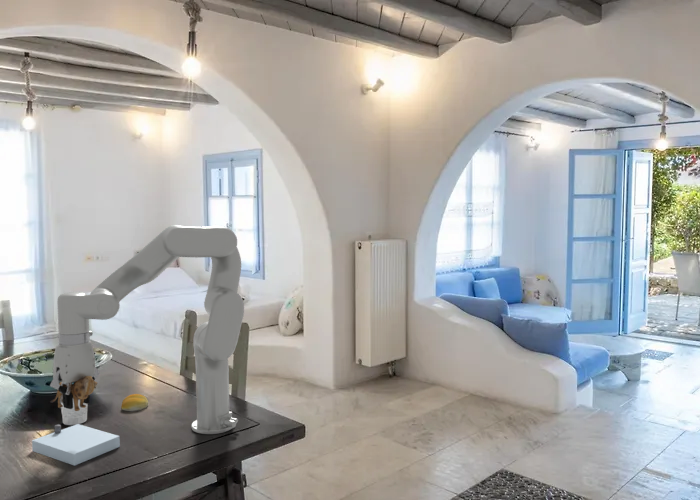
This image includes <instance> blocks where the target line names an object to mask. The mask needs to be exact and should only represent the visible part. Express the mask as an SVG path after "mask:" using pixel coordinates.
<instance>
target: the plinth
mask: <svg viewBox="0 0 700 500" xmlns="http://www.w3.org/2000/svg"><path fill="white" fill-rule="evenodd" d="M120 441H121V440H120V435H118V434H113V433H110V432H108V431H107V432H106V431H103V430H100V429H96V428H94V427H89V426H86V425H83V424H77V425H70V426H68V427H66V428H63V429H62V425H61V424H55V425H54V432H51V433H49V434H48V433H47V434H46V435H43V436H40V437H37V438H34V439H31V444H32V445H31V449H32V452H34V453H37V454H40V455H42V456H45V457H49V458H52V459H53V460H54V459H55V460H57V461H59V462H63V463H66V464H69V465H71V466H77V465H79V464H81V463H84V462H87V461H88V460H91V459H94V458H96V457H99V456H101V455H103V454H105V453H108V452H110V451H113V450H116V449H117V448H120V447H121V444H120V443H121V442H120Z"/></svg>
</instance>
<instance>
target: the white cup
mask: <svg viewBox="0 0 700 500" xmlns="http://www.w3.org/2000/svg"><path fill="white" fill-rule="evenodd" d="M88 404H89V403H88ZM88 404H86V403H83V405H86V407H85V408H81V407H80V399H79V400H78V406H79V409H80V410H79V411H75V409H74V400H73V408H72V409H68V408H64V405H63V403H61V405H63V407H61V408H60V410H61V416H62V424H63V425H65V426H74V425H77V424H80V425H82V424H83V423H86V422H87V420H88V406H89V405H88Z"/></svg>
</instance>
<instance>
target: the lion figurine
mask: <svg viewBox="0 0 700 500" xmlns="http://www.w3.org/2000/svg"><path fill="white" fill-rule="evenodd" d="M61 383H62V381H60V382H59V385H61ZM97 386H98V382H97V381H95V380H93V379H92V376H85V377H83V378H81V379H79V381H76V382H73V383H72V387H71V393H70V394H72V395H73V400H74V409H75V411H79V410H80V409H79V406H78V400H79V399H80V407H81V408H85V407H86V405H83V402H84V399H86V398H87V397H88V395H91V394H93V392H94V391H95V390H96V389H97V388H96V387H97ZM56 400H57V408H59V409H61V407H63V405H61V403H63V394H62V393H60V391H58V390H57V392H56V396H55V397H54V399H51V400H50V401H49V402H50V403H54V402H56Z"/></svg>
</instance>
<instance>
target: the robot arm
mask: <svg viewBox="0 0 700 500" xmlns="http://www.w3.org/2000/svg"><path fill="white" fill-rule="evenodd" d="M180 258H195V259H197V258H210V260H211V272H210V276H209V277H210V278H209V283H208V286H207V291H206V293H205V298H204V301H203V303H204V304H203V305H204V306H203V307H204V309H205V311H206V313H207V314H208V315H209V317H208V321H205V322H203V323H201V324H200V325H198V327H197V328H196V329H195V330H194V331H195V332H194V334H193V340H192V341H193V343H192V345H193V352H194V359H195V361H194V363H195V392H196V420H193V422H192V423H191V430H192V431H193V432H195V433H197V434H202V435H216V434H217V435H218V434H222V433H225V432H226V433H227V432H229V431H230V430H232V429H234V428H236V426H237V424H238V423H239V418H236V417H233V411H230V380H229V379H230V377H229V373H230V370H229V358H231V357H232V355H233V354H234V352H235V350H236V347H237V344H238V341H239V338H240V337H239V336H240V333H241V328H242V323H243V319H244V314H245V303H244V300H243V298H242V297H241V295H240V294H239V293H238V290H239V284H240V278H241V272H242V257H241V254H240V251H239V249H238V239H237V235H236V233H235V232H234V231H233V230H232V229H231V228H228V227H225V226H222V225H221V226H220V225H210V226H202V227H201V226H186V225H185V226H184V225H180V224H179V225H178V224H174V225H173V224H172V225H170V226H168V227H166V228H165V229H163V230H162V231H161V232H160V233H159V234H158V235H157V236H155V238H153V239H152V240H151V241H150V242H149V243H147V245H145V246H144V247H142V248H141V249H140V251H138V252H137V253H136V254H135V255H133V256H132V257H130V259H129V260H127V261H125V263H124V264H122V265H121V266H120V267H119V268H117V269H116V270H115V271H114V272H113V273H110V275H109V276H107V277H106V278H105V279H103V281H101V282H100V284H98V285H97V286H96V287H95V288H94V289H93V290H91V292H90V293H89V294H86V293H85V292H80V291H79V292H77V291H76V292H74V291H73V292H72V291H71V292H63V293H61V294H59V295H58V297H57V322H58V324H57V325H58V345H56V346H55V350H54V354H53V355H54V356H53V366H52V367H53V368H52V375H53V376H52V380H51V382H50V384H49V387H51V388H53V389H55V390H57V391H60V393H62V394H63V405H64V408H68V409H72V408H73V395H72V394H70V393H71V387H72V384H73V383H74V382H76V381H79V379H81V378H83V377H85V376H92V379H93V380H94V381H95V379H97V378H98V377H99V375H100V374H101V373H100V371H99V370H98V368H97V367H96V359H95V357H96V356H95V352H94V346H93V342H92V341H91V340H90V337H92V336H93V331H91V330H90V320H99V321H100V320H101V321H103V320H105V321H106V320H110V319H112V318H113V317H115V316H117V314H118V313H119V311H120V308H121V305H120V302H121V301H122V300H124V298H125V297H126V296H128V295H129V294H130V293H132V292H133V291H134V290H136V289H137V288H139V287H141V286H144V285H146V284H149V283H151V282H152V281H155V280H156V279H157V278H158V277H160V275H161V274H162V273H163V272H165V270H166V269H168V268H169V267H170V266H171V265H172V264H173V263H174V262H176V261H177V260H178V259H180ZM60 382H62V383H61V385H59V383H60ZM90 395H91V394H90ZM90 395H88V397H87V398H86V399H84V402H83V403H86V404H90V397H91V396H90Z"/></svg>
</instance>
